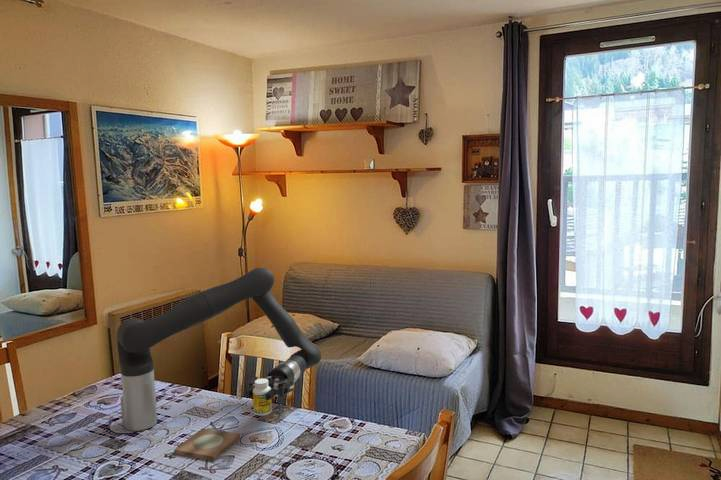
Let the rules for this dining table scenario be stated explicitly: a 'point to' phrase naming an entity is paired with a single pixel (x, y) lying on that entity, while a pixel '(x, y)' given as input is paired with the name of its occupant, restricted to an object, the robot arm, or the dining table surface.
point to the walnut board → (207, 444)
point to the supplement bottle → (261, 398)
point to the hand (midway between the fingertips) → (257, 395)
